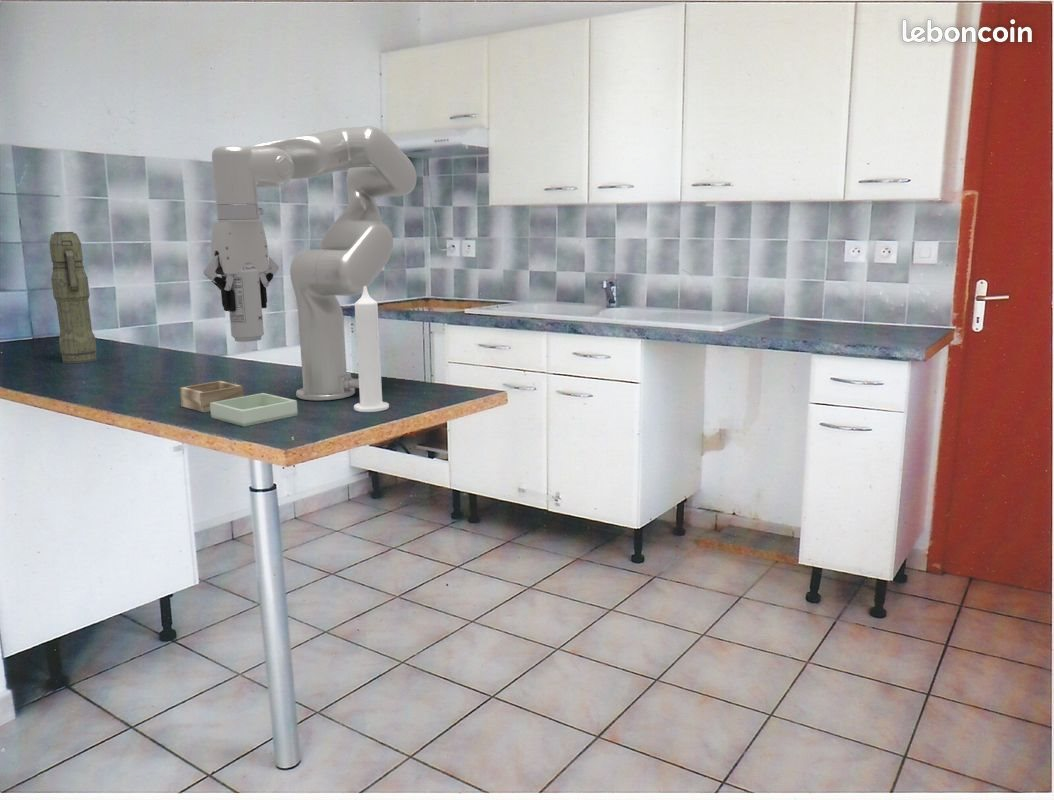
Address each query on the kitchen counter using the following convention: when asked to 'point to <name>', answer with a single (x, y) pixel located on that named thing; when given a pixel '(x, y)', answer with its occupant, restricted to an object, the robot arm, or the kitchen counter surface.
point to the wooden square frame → (208, 394)
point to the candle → (368, 355)
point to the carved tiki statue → (72, 299)
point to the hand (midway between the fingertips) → (245, 308)
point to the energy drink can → (247, 305)
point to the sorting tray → (253, 409)
